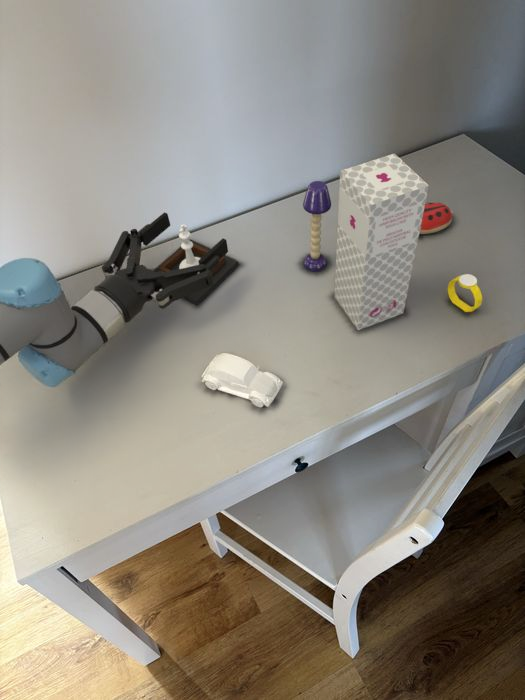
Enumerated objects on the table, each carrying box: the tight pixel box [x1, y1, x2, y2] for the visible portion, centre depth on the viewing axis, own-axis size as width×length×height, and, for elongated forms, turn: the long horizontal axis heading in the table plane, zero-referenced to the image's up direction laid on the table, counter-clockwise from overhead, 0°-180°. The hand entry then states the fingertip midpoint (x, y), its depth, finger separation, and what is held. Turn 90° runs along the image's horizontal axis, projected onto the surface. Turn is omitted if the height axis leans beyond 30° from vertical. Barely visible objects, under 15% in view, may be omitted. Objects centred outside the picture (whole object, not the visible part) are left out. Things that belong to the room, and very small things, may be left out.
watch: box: [447, 273, 483, 313], centre depth 87 cm, size 6×3×6 cm, turn 34°
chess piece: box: [178, 223, 201, 274], centre depth 95 cm, size 5×5×10 cm
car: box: [200, 352, 284, 408], centre depth 81 cm, size 12×6×5 cm, turn 61°
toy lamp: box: [302, 180, 332, 272], centre depth 92 cm, size 5×5×17 cm
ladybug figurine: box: [419, 202, 454, 235], centre depth 101 cm, size 7×10×4 cm
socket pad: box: [153, 238, 240, 306], centre depth 98 cm, size 12×12×2 cm
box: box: [334, 153, 430, 331], centre depth 81 cm, size 8×8×25 cm
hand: (195, 231), depth 95 cm, fingers open, 13 cm apart
